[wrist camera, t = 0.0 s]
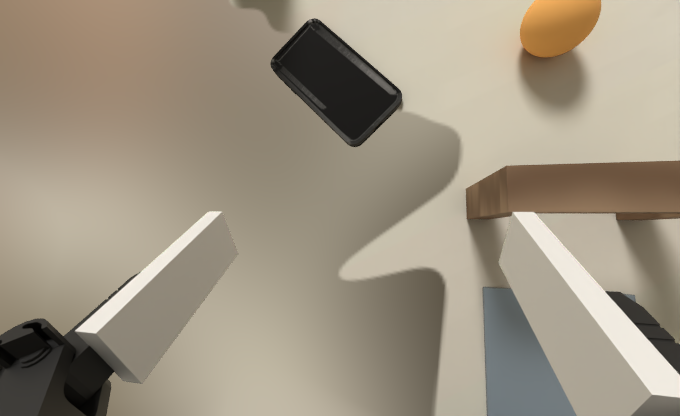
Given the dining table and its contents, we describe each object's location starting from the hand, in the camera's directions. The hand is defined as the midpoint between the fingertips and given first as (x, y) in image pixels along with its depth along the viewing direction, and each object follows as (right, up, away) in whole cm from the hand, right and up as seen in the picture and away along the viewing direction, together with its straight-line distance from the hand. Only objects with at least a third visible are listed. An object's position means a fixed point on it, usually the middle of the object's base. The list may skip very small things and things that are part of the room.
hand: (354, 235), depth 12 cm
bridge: (+19, +2, +12) cm, 23 cm away
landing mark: (+19, -12, +11) cm, 25 cm away
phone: (-1, +16, +18) cm, 24 cm away
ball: (+19, +18, +11) cm, 28 cm away
